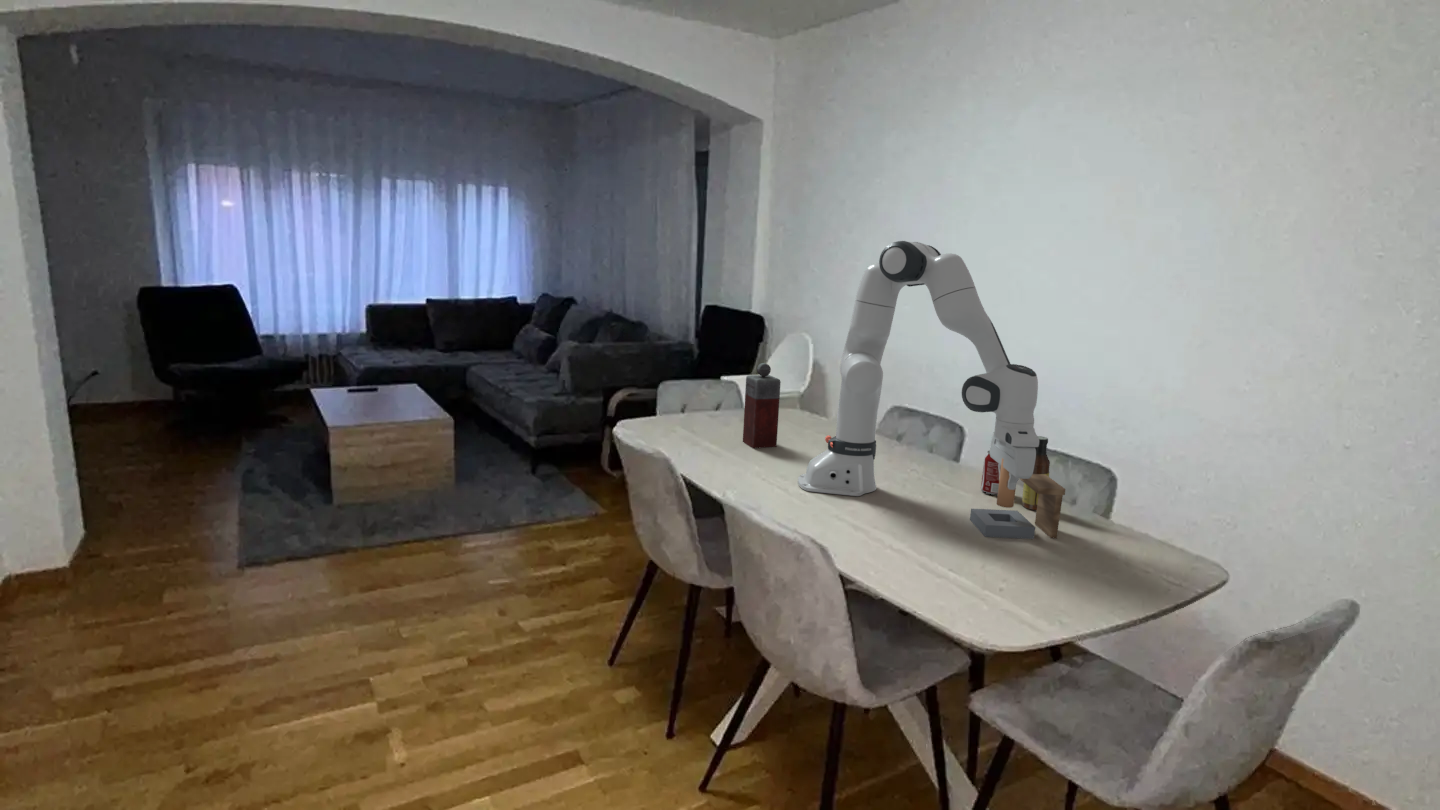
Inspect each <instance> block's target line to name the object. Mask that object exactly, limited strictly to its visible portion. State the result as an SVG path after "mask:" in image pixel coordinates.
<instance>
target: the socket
mask: <svg viewBox="0 0 1440 810" xmlns="http://www.w3.org/2000/svg"><path fill="white" fill-rule="evenodd" d="M969 521H971V523H972V524H973V525H974V526H975V527H976V528H977V530H978V531H979V532H980V533H981V534H982V535H983V536H984V537H985V538H1002V539H1003V538H1004V539H1005V538H1007V539H1023V540H1024V539H1026V540H1030V539H1031V540H1034V539H1035V532H1036V525H1035V526H1034V525H1033V524H1032V523H1031V522H1030V520H1028V519H1027V518H1026V517H1025V516H1024V514H1022V513H1020V511H1018V510H1013V509H1012V510H1011V509H1010V510H1009V509H988V508H987V509H986V508H985V509H984V508H970V516H969Z"/></svg>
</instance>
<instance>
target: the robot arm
mask: <svg viewBox="0 0 1440 810" xmlns="http://www.w3.org/2000/svg"><path fill="white" fill-rule="evenodd" d="M863 272H864V273H863V274H862V277H861V280H860V281H859V286H858V288H857V291H856V295H855V301H854V306H853V310H852V316H851V320H850V325H849V329H848V331H847V332H848V333H847V337H846V340H845V343H844V349H843V352H842V356H841V361H840V365H839V373H840V377H841V378H840V379H841V383H840V392H839V400H838V408H837V415H836V416H837V417H836V430H835V435H834V436H833V437H832V436H831V435H826V436H825V437H824V439H825V440H824V441H825V442H826V444H827V449H825V450H824V451H822V452H821V453H819V454H818V455H816V456H814V457H813V458H811V460H810V461H809V462H808V463H807V467H806V471H805V473H802V474H800V475H799V476H798V477H797V484H798V486H799V487H800V488H801V489H802V490H804V491H806V492H813V493H822V494H830V495H831V494H833V495H843V496H851V497H860V496H863V495H864V494H868V493H872V492H875V491H876V490H877V485H876V479H875V469H874V468H875V463H874V462H875V461H874V460H875V458H876V452H877V440H876V432H877V431H876V430H877V419H878V411H879V405H880V401H881V394H882V388H883V381H884V380H883V379H884V372H883V371H884V370H883V367H882V366H881V362H882V358H883V356H884V351H885V349H886V345H887V342H888V339H889V337H890V334H891V330H892V326H893V325H892V324H893V320H894V316H895V312H896V307H897V301H898V298H899V294H900V291H901V290H902V288H903V287H905V286H907V287H908V288H909V287H917V286H924V285H925V286H926V287H927V289H928V291H929V294H930V298H931V301H932V304H933V307H934V311H935V313H936V316H937V317H938V320H939V322H940V323H941V324H942V326H943V327H945V328H946V329H948V330H949V331H952V332H955V333H957V334H960V335H961V336H963V337H965V338H966V339H968V340H969V342H971V343H972V344H973V345H974V347H975V349H976V351H977V353H978V355H979V358H980V360H981V363H982V366H983V367H984V370H985V372H986V373H981V374H975V375H973V376H970V377H968V378H967V379H966V380H965V381H964V382H963V384H962V388H961V398H962V402H963V404H964V405H965V406H966V408H967V409H968V410H970V411H971V412H976V413H981V414H982V413H994V414H995V423H994V431H993V432H992V435H991V440H990V445H989V446H990V447H989V450H990V457H991V458H993V459H994V460H995V461H996V462H997V463H999V464H998V469H999V479H1000V471H1001V462H1002V458H1003V459H1004V461H1003V467H1004V468H1005V469H1006V470H1007V471H1008V472H1009V476H1010V477H1009V480H1008V481H1007V485H1006V486H1007V488H1008V489H1010V490H1015V489H1017V488H1016V487H1017V484H1018V481H1019V480H1020V479H1029V478H1030V477H1031V476H1032V474H1033V470H1034V465H1035V458H1036V449H1035V447H1038V446H1039V438H1038V437H1037V436H1038V434H1037V433H1036V430H1035V416H1034V411H1035V408H1036V406H1037V401H1038V395H1039V394H1038V392H1039V391H1038V389H1039V381H1038V376H1037V373H1036V371H1034V370H1033V369H1032V368H1030V367H1028V366H1025V365H1022V364H1015V363H1011V362H1010V359H1009V358H1008V356H1007V353H1006V351H1005V348H1004V345H1003V344H1002V341H1001V338H1000V336H999V334H998V332H997V329H996V327H995V326H994V324H993V321H992V320H991V318H990V317H989V316H988V313H987V312H986V311H985V307H983V304H982V302H981V299H980V297H979V294H978V291H977V288H976V286H975V285H976V284H975V282H974V280H973V277H972V275H971V273H970V271H969V269H968V267H967V265H966V263H965V261H964V260H963V258H962V257H961V256H959V254H956V253H943V254H942V253H940V251H939V250H938V249H936V248H935V247H934V246H932V245H930V244H929V245H928V244H925V243H922V242H919V241H906V240H898V241H894V242H891V243H889V244H888V245H886V246H885V247H884V248H883V250H882V251H881V253H880V256H879V260H878V262H875V263H871V264H869V265H868V266H867V267H866V268H865V270H864V271H863ZM1015 491H1016V490H1015Z"/></svg>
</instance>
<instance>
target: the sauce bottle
mask: <svg viewBox="0 0 1440 810" xmlns="http://www.w3.org/2000/svg"><path fill="white" fill-rule="evenodd" d="M1037 437H1038V438H1039V446H1038V447H1035V449H1036V458H1035V465H1034V470H1033V474H1043V475H1047V476H1048V477H1050V466H1051V465H1050V464H1051V461H1050V459H1049V457H1048V454H1047V449H1048V444H1049V437H1047V436H1046V437H1045V436H1042V435H1037ZM1022 488H1023V489H1022V498H1021V499H1022V500H1021V501H1022V503H1021V505H1022V507H1023V508H1025V509H1027V510H1032V511H1037V504H1038V497H1039V494H1037V493H1036V492H1035V491H1034V490H1032V489H1031V488H1030V487H1029V486H1028V485H1026V484H1025V483H1024V482H1023V486H1022Z"/></svg>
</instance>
